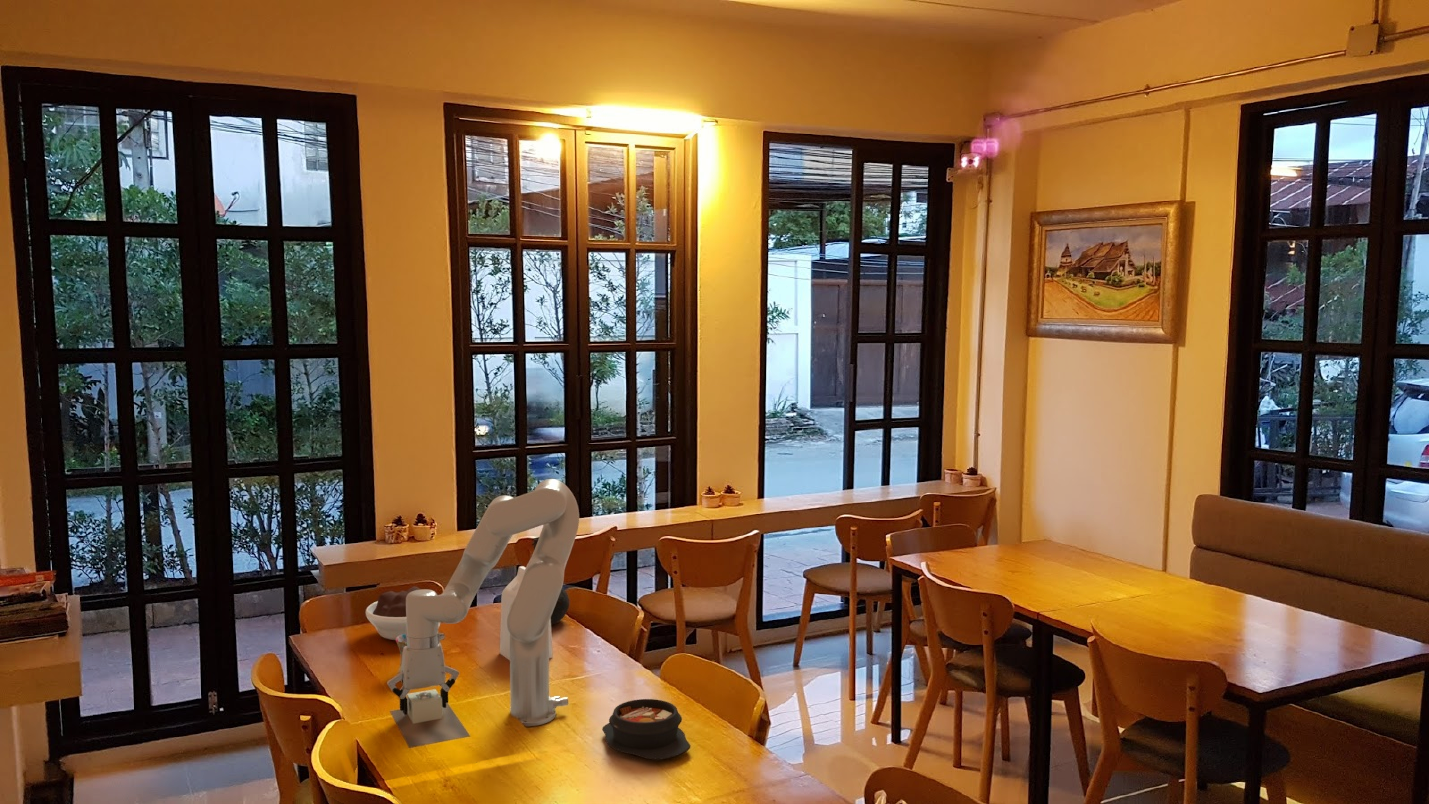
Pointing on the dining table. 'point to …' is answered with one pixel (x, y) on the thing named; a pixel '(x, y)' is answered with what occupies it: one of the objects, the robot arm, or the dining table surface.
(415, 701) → the white rectangular block
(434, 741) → the board
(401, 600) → the bowl of chocolate mousse
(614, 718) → the casserole
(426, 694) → the post
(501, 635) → the milk
